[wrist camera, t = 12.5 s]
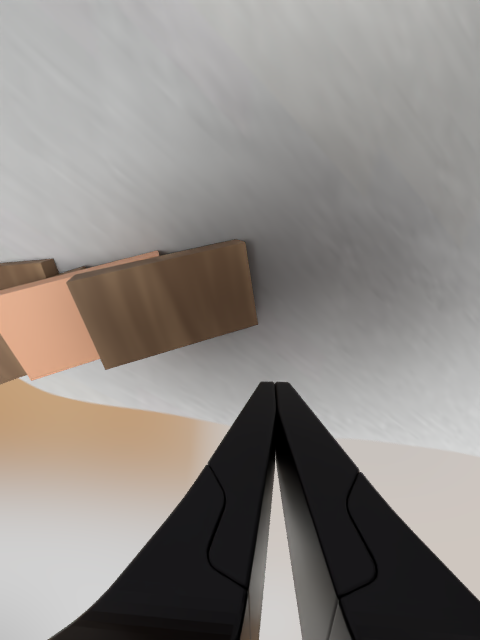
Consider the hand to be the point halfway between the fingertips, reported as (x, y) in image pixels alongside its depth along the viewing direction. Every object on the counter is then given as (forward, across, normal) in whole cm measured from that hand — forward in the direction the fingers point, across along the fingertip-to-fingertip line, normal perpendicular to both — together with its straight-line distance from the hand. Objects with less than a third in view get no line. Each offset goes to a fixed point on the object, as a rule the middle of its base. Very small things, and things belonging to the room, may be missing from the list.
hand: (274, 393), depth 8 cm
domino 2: (+9, +6, 0) cm, 11 cm away
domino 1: (+9, +1, -1) cm, 9 cm away
